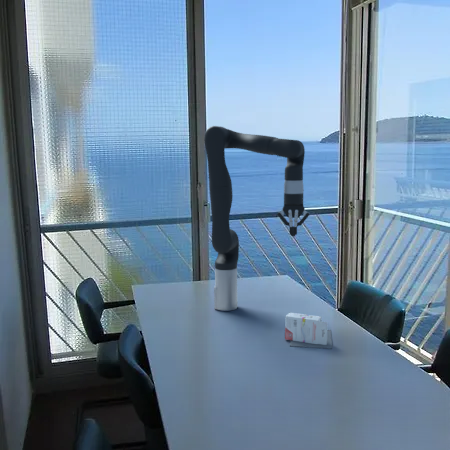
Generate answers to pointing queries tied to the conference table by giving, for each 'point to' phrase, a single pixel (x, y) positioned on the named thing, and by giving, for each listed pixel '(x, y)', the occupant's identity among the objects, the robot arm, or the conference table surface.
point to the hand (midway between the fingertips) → (293, 236)
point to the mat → (303, 344)
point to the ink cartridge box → (305, 328)
